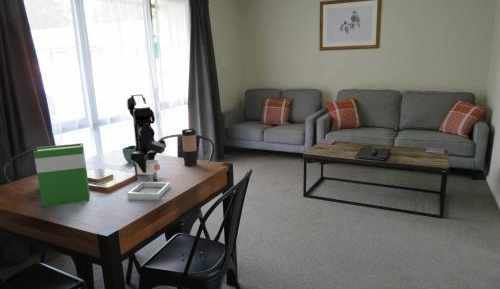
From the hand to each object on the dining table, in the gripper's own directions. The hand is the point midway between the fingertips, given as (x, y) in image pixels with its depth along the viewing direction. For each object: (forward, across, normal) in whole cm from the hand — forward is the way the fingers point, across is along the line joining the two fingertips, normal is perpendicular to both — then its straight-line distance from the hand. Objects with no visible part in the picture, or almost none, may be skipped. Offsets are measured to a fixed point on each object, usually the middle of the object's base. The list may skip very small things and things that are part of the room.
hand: (148, 170), depth 158 cm
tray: (+11, 0, 0) cm, 11 cm away
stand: (+11, +14, +3) cm, 18 cm away
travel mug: (+11, +45, -5) cm, 47 cm away
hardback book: (+11, -11, +33) cm, 37 cm away
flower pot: (+11, +47, +30) cm, 57 cm away
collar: (+1, 0, 0) cm, 1 cm away
